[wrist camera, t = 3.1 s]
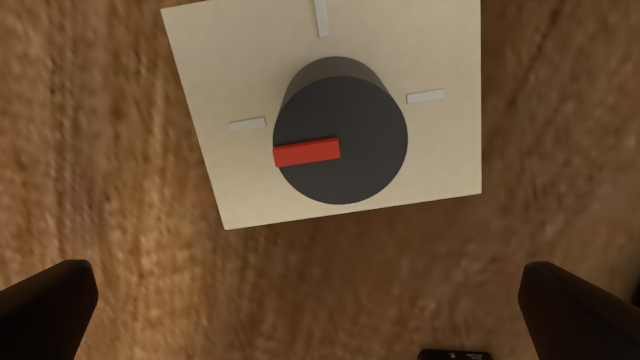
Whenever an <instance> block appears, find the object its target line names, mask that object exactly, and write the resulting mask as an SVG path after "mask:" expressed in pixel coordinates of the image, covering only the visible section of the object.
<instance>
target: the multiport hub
mask: <svg viewBox="0 0 640 360" xmlns="http://www.w3.org/2000/svg"><path fill="white" fill-rule="evenodd" d="M418 360H493V359H492V357H491V355H490V354H488V353H476V352H459V351H441V350H423V351H422V352H420V354H419V356H418Z"/></svg>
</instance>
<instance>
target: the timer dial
mask: <svg viewBox="0 0 640 360" xmlns="http://www.w3.org/2000/svg"><path fill="white" fill-rule="evenodd" d="M272 139H273V150H272V152H273V157H274V161H275V166H276V167H278V168H279V170H280V172H281V173H282V175H283V177H284V178H285V179H286V180H287V182H288V183H289V184H290V185H291V186H292V187H293V188H294V189H296V190H297V191H298V192H300V193H301V194H303V195H304V196H306V197H308V198H310V199H312V200H315V201H318V202H321V203H325V204H332V205H345V204H352V203H357V202H360V201H363V200H366V199H368V198H370V197H372V196H374V195H376V194H377V193H379V192H380V191H382V190H383V189H384V188H385V187H387V186H388V185H389V184H390V183H391V181H392V180H393V179H394V178H395V176H396V175H397V174H398V172H399V170H400V169H401V167H402V165H403V162H404V160H405V157H406V153H407V147H408V131H407V125H406V121H405V118H404V116H403V114H402V111H401V109H400V108H399V106H398V105H397V103H396V102H395V100H394V99H393V97H392V96H391V94H390V93H389V91H388V90H387V89H386V87H385V86H384V84H383V83H382V81H381V80H380V78H379V77H378V76H377V75H376V74H375V72H374V71H373V70H371V69H370V68H369V67H368V66H366V65H365V64H363V63H361V62H359V61H357V60H355V59H351V58H348V57H341V56H332V57H325V58H321V59H318V60H316V61H313V62H311V63H309V64H308V65H306V66H305V67H303V68H302V69H301V70H300V71H299V72H298V73H297V74H296V75H295V76H294V77H293V79H292V80H291V82H290V83H289V85H288V87H287V89H286V92H285V95H284V98H283V101H282V104H281V107H280V110H279V113H278V116H277V119H276V122H275V126H274V130H273V138H272Z"/></svg>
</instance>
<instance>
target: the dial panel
mask: <svg viewBox="0 0 640 360" xmlns="http://www.w3.org/2000/svg"><path fill="white" fill-rule="evenodd" d="M160 11H161V15H162V18H163V22H164V25H165V28H166V32H167V35H168V39H169V42H170V45H171V49H172V52H173V56H174V59H175V62H176V66H177V69H178V73H179V76H180V79H181V83H182V86H183V90H184V93H185V96H186V100H187V103H188V107H189V110H190V114H191V117H192V120H193V124H194V127H195V131H196V134H197V137H198V141H199V144H200V148H201V151H202V154H203V158H204V161H205V165H206V168H207V171H208V175H209V178H210V182H211V185H212V188H213V192H214V195H215V199H216V202H217V205H218V209H219V212H220V216H221V219H222V222H223V226H224V229H225V230H229V229H236V228H243V227H250V226H257V225H264V224H271V223H278V222H285V221H292V220H299V219H306V218H313V217H320V216H327V215H334V214H341V213H348V212H355V211H362V210H369V209H376V208H383V207H390V206H397V205H404V204H411V203H418V202H425V201H432V200H439V199H446V198H453V197H460V196H467V195H474V194H480V193H481V17H480V0H207V1H201V2H195V3H190V4H184V5H179V6H173V7H167V8H162V9H160ZM332 56H341V57H348V58H351V59H355V60H357V61H359V62H361V63H363V64H365V65H366V66H368V67H369V68H370V69H371V70H373V71H374V72H375V74H376V75H377V76H378V77H379V78H380V80H381V81H382V83H383V84H384V86H385V87H386V89H387V90H388V91H389V93H390V94H391V96H392V97H393V99H394V100H395V102H396V103H397V105H398V106H399V108H400V109H401V111H402V114H403V116H404V118H405V121H406V125H407V131H408V147H407V153H406V157H405V160H404V162H403V165H402V167H401V169H400V170H399V172H398V174H397V175H396V176H395V178H394V179H393V180H392V181H391V183H390V184H389V185H388V186H387V187H385V188H384V189H383V190H382V191H380V192H379V193H377V194H376V195H374V196H372V197H370V198H368V199H366V200H363V201H360V202H357V203H352V204H345V205H332V204H325V203H321V202H318V201H315V200H312V199H310V198H308V197H306V196H304V195H303V194H301V193H300V192H298V191H297V190H296V189H294V188H293V187H292V186H291V185H290V184H289V183H288V182H287V180H286V179H285V178H284V177H283V175H282V173H281V172H280V170H279V168H278V167H276V166H275V161H274V157H273V152H272V150H273V139H272V138H273V130H274V126H275V122H276V119H277V116H278V113H279V110H280V107H281V104H282V101H283V98H284V95H285V92H286V89H287V87H288V85H289V83H290V82H291V80H292V79H293V77H294V76H295V75H296V74H297V73H298V72H299V71H300V70H301V69H302V68H303V67H305V66H306V65H308V64H309V63H311V62H313V61H316V60H318V59H321V58H325V57H332Z"/></svg>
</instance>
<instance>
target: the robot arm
mask: <svg viewBox="0 0 640 360" xmlns="http://www.w3.org/2000/svg"><path fill="white" fill-rule="evenodd" d="M97 302H98V289H97V285H96V281H95V277H94V274H93V270H92V266H91V264H90V262H89V261H87V260H65V261H62V262H60V263H58V264H56V265H54V266H52V267H50V268H48V269H46V270H44V271H41V272H39V273H37V274H35V275H33V276H31V277H29V278H27V279H25V280H22V281H20V282H18V283H16V284H14V285H12V286H10V287H8V288H6V289H4V290H1V291H0V360H73V359H74V357H75V355H76V352H77V350H78V348H79V345H80V343H81V340H82V338H83V336H84V333H85V331H86V329H87V326H88V324H89V321H90V319H91V317H92V314H93V312H94V310H95V307H96V305H97ZM518 302H519V306H520V309H521V312H522V314H523V317H524V320H525V322H526V325H527V328H528V330H529V333H530V336H531V338H532V341H533V344H534V347H535V349H536V352H537V355H538V357H539V360H640V300H639V302H638V305H637V307H636V306H634V305H632V304H630V303H628V302H626V301H624V300H622V299H621V298H619V297H617V296H615V295H613V294H611V293H609V292H607V291H605V290H603V289H601V288H599V287H597V286H595V285H593V284H592V283H590V282H588V281H586V280H584V279H582V278H580V277H578V276H576V275H574V274H572V273H570V272H568V271H566V270H564V269H562V268H561V267H559V266H557V265H555V264H553V263H551V262H547V261H530V262H528V263H527V264H526V265H525V268H524V271H523V276H522V280H521V284H520V288H519V292H518Z"/></svg>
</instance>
